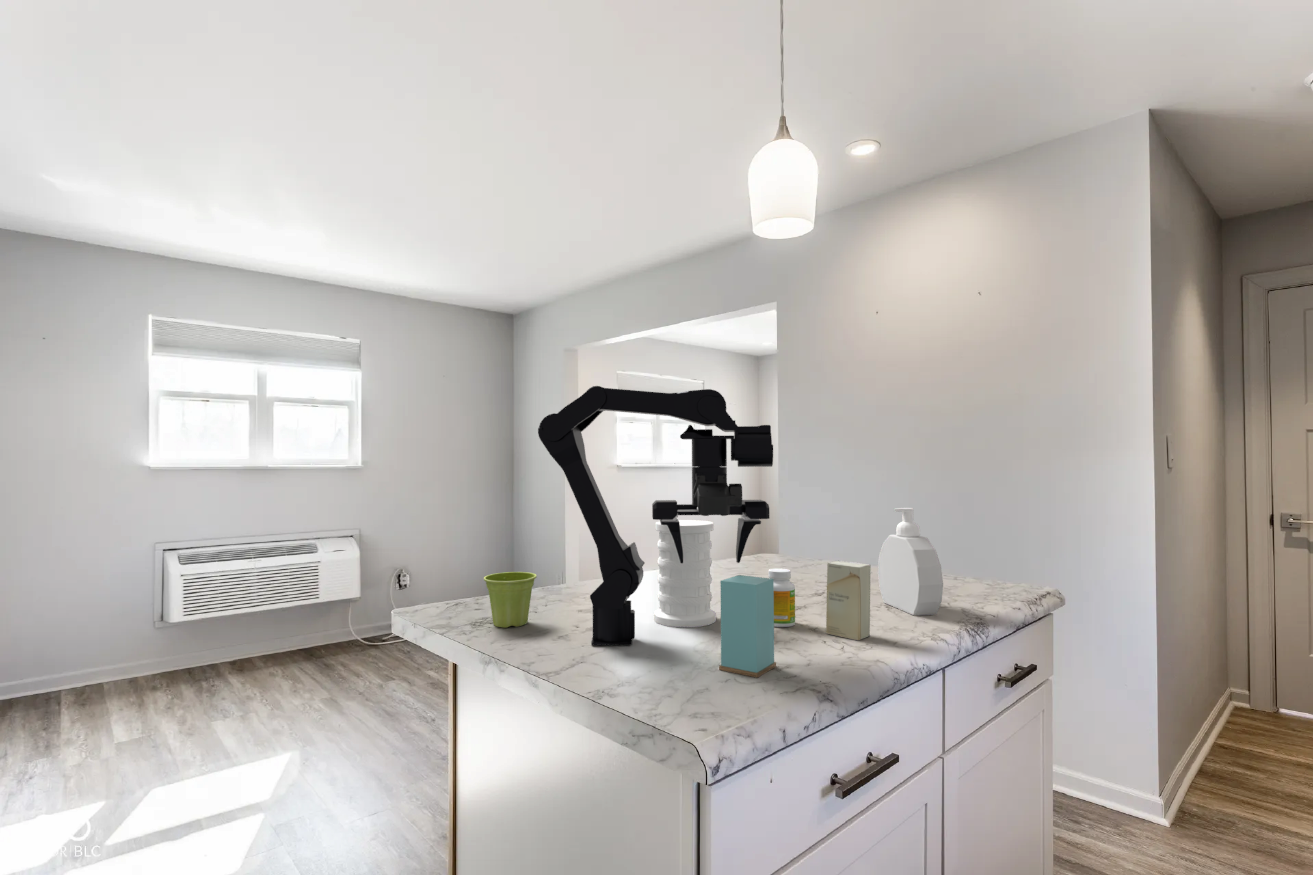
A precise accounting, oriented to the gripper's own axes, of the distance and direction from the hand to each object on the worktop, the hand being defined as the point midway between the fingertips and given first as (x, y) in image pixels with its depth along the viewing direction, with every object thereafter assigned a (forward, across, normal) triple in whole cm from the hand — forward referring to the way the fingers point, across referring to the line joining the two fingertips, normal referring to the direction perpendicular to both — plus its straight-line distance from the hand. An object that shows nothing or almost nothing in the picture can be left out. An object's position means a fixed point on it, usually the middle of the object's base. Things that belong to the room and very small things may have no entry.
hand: (709, 562), depth 109 cm
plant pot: (+13, -35, +14) cm, 40 cm away
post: (+13, +4, -13) cm, 19 cm away
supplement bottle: (+13, +14, +12) cm, 23 cm away
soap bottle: (+13, +42, +23) cm, 50 cm away
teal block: (+12, +4, -13) cm, 18 cm away
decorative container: (+13, -3, +16) cm, 21 cm away
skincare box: (+13, +24, +4) cm, 28 cm away
